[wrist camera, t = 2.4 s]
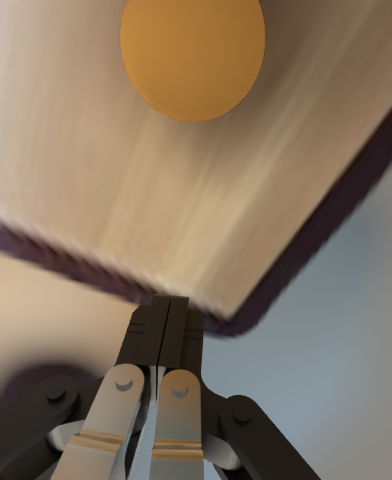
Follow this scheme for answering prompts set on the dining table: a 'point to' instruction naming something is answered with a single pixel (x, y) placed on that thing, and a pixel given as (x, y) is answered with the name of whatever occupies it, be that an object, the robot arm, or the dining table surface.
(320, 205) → the dining table surface
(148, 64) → the ball
